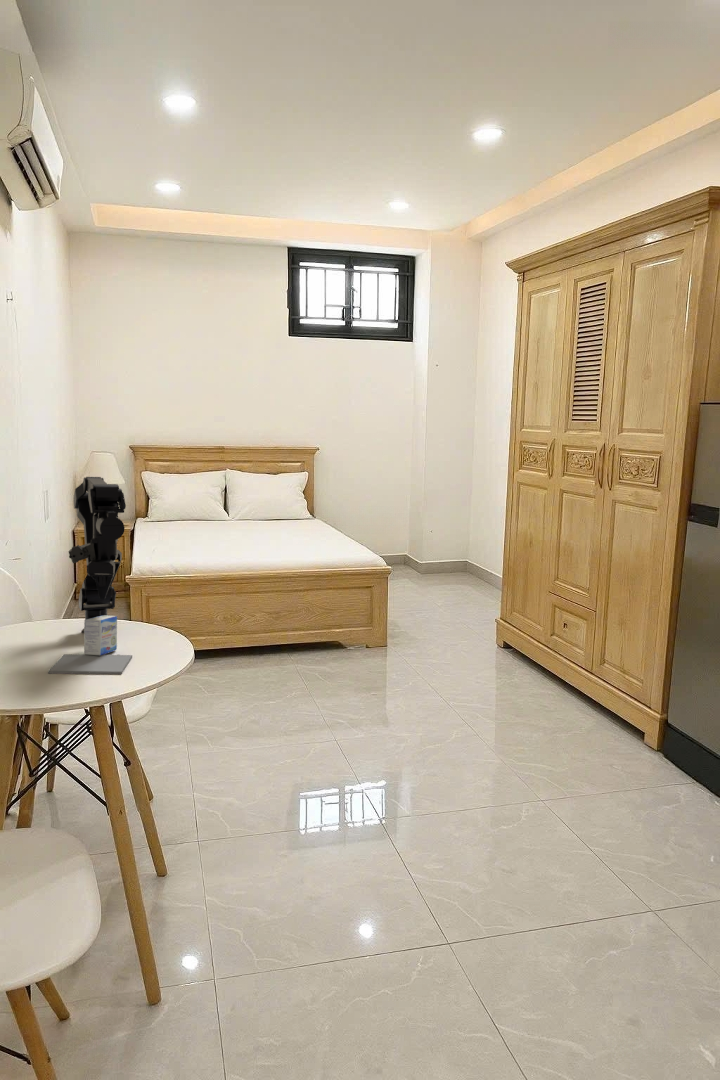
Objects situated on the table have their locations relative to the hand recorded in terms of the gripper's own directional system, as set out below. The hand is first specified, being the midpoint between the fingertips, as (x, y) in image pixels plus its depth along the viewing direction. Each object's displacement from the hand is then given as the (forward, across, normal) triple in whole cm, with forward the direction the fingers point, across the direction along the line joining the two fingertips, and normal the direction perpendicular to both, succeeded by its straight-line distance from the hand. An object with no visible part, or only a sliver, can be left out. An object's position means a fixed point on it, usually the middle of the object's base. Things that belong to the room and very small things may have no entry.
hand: (104, 594), depth 199 cm
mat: (+12, +18, 0) cm, 22 cm away
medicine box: (+12, +10, 0) cm, 16 cm away
